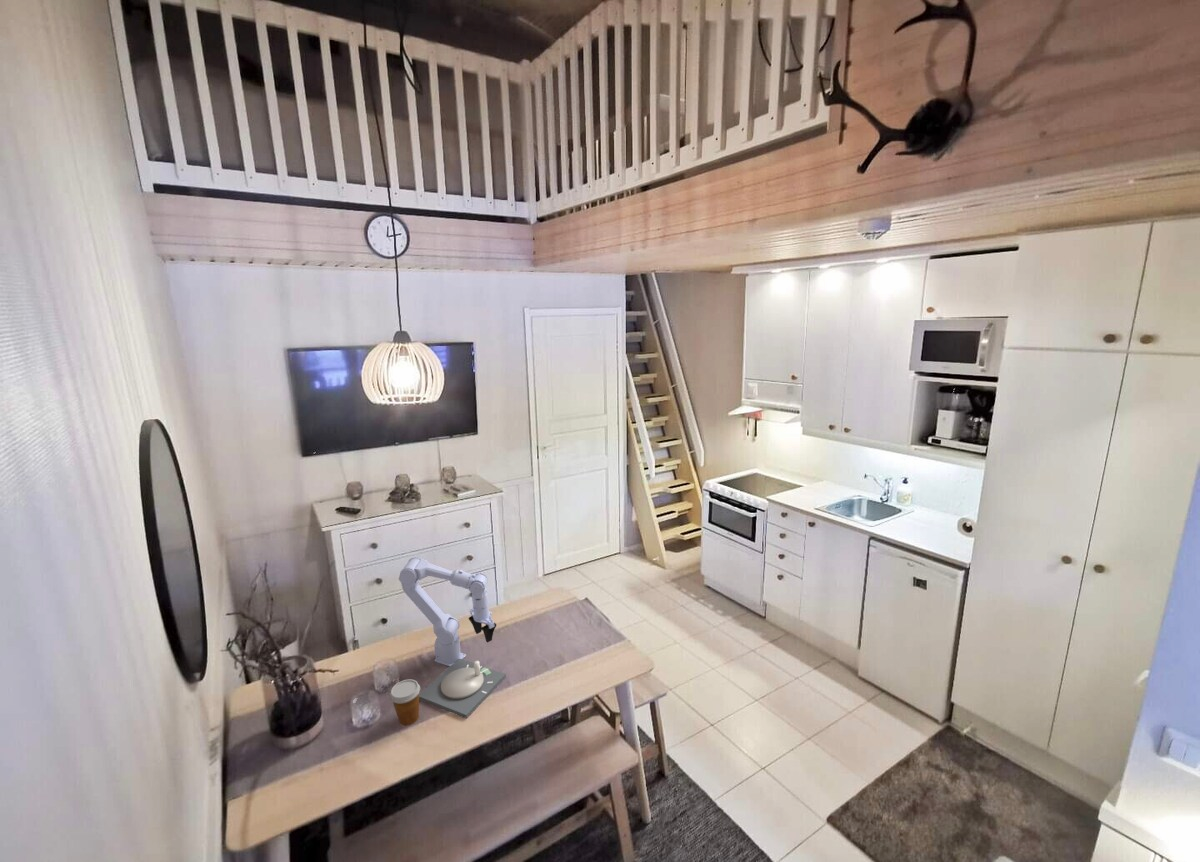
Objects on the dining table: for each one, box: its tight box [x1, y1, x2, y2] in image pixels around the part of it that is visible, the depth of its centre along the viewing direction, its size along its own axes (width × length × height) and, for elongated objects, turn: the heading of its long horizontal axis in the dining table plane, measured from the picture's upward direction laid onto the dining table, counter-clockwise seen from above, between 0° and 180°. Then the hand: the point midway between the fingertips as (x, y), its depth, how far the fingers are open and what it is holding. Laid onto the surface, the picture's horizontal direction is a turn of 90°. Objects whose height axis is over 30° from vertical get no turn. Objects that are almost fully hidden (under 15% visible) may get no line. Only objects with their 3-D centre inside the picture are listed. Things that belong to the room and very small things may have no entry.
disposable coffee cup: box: [389, 678, 421, 727], centre depth 178 cm, size 10×10×12 cm
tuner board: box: [419, 658, 507, 720], centre depth 193 cm, size 22×22×2 cm
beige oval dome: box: [441, 660, 489, 699], centre depth 192 cm, size 18×15×6 cm
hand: (483, 636), depth 207 cm, fingers open, 7 cm apart
